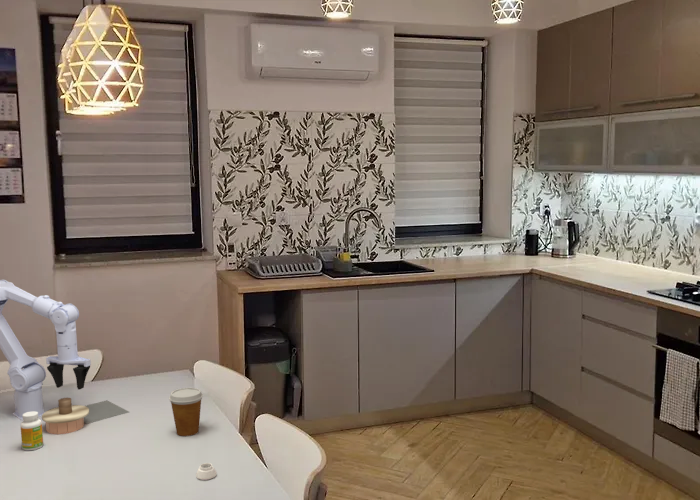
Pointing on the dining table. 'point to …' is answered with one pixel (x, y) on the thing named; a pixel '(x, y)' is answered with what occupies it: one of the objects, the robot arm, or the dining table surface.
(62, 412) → the lid
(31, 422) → the supplement bottle
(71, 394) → the dining table surface
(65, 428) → the bowl
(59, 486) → the dining table surface
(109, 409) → the mat
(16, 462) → the dining table surface
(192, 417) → the disposable coffee cup
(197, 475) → the white tapered round cap
